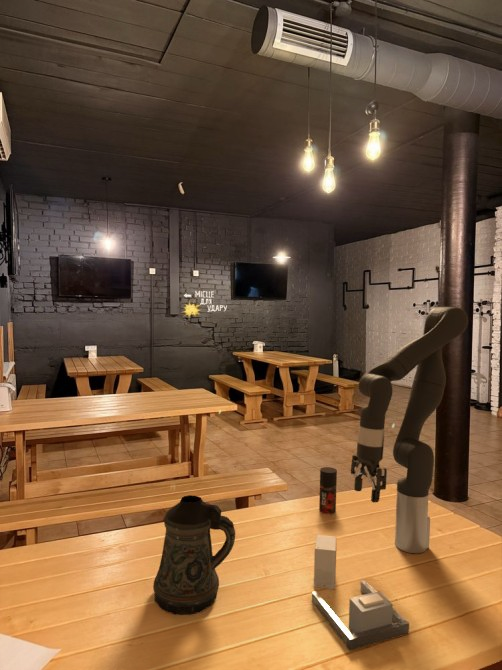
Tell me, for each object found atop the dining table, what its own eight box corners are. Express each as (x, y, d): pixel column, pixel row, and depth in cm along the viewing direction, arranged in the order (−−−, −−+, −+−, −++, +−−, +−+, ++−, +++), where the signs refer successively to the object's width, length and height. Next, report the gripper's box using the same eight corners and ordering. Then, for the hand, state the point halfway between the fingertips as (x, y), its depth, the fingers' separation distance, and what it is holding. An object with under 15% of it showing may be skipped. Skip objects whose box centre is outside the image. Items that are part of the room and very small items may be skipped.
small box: (335, 590, 119) (336, 551, 118) (313, 587, 120) (314, 548, 119) (335, 573, 126) (336, 536, 126) (315, 570, 128) (316, 533, 127)
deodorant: (336, 508, 167) (338, 468, 166) (334, 515, 162) (335, 473, 161) (320, 505, 169) (321, 466, 168) (317, 512, 164) (318, 471, 163)
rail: (364, 589, 119) (364, 580, 119) (408, 633, 103) (408, 623, 103) (311, 601, 114) (311, 592, 114) (349, 650, 98) (350, 639, 98)
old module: (378, 619, 108) (379, 588, 107) (391, 634, 103) (392, 601, 102) (348, 627, 105) (349, 595, 104) (361, 642, 100) (362, 609, 100)
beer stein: (147, 583, 120) (147, 490, 119) (217, 568, 128) (218, 480, 126) (161, 624, 105) (161, 518, 104) (239, 603, 113) (241, 504, 111)
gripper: (396, 448, 129) (391, 505, 130) (367, 435, 143) (362, 486, 143) (374, 449, 127) (369, 507, 127) (346, 435, 140) (342, 488, 141)
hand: (366, 496), depth 135 cm, fingers open, 8 cm apart
